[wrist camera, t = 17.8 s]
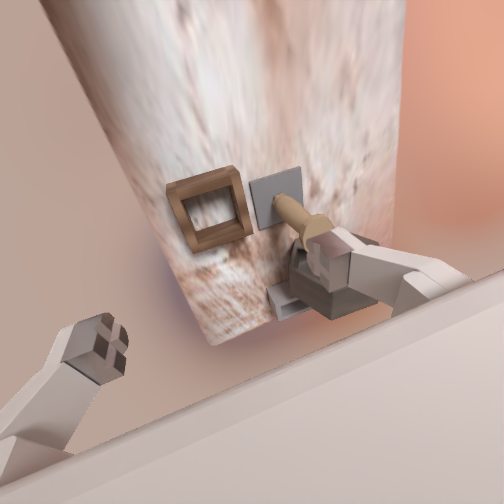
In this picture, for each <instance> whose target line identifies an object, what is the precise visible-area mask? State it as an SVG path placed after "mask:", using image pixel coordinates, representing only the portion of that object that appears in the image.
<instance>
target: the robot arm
mask: <svg viewBox="0 0 504 504" xmlns="http://www.w3.org/2000/svg"><path fill="white" fill-rule="evenodd" d="M306 248H307V249H308V250H309V251H308V253H307V262H308V265H309V268H310V269H311V271H312V272H313V274H314V275H316V276H319V277H320V282H321V283H322V285H323V286H324V287H325V288H326V289H327V291H328V292H329V293H330V292H332V291H335V290H338V289H341V288H343V287H346V286H348V287H350V288H352V289H354V290H356V291H359V292H361V293H363V294H365V295H367V296H369V297H372V298H374V299H376V300H378V301H380V302H383V303H385V304H387V305H389V306H391V307H394V309H393V312H392V316H391V318H390V319H387V320H385V321H383V322H381V323H378V324H376V325H373V326H371V327H369V328H367V329H365V330H362V331H360V332H358V333H355V334H353V335H350V336H348V337H346V338H344V339H341V340H339V341H337V342H334V343H332V344H330V345H328V346H325V347H323V348H320V349H318V350H316V351H314V352H311V353H309V354H307V355H304V356H302V357H300V358H297V359H295V360H293V361H290V362H288V363H286V364H284V365H281V366H279V367H277V368H274V369H272V370H270V371H267V372H265V373H263V374H260V375H258V376H256V377H254V378H252V379H249V380H247V381H244V382H242V383H240V384H238V385H235V386H233V387H231V388H228V389H226V390H224V391H221V392H219V393H217V394H215V395H212V396H210V397H208V398H205V399H203V400H201V401H198V402H196V403H194V404H192V405H189V406H187V407H185V408H182V409H180V410H178V411H176V412H173V413H171V414H169V415H166V416H164V417H162V418H160V419H157V420H155V421H152V422H150V423H148V424H145V425H143V426H141V427H139V428H136V429H134V430H132V431H129V432H127V433H125V434H122V435H120V436H118V437H116V438H113V439H111V440H109V441H106V442H104V443H102V444H99V445H97V446H95V447H92V448H91V449H88V450H86V451H84V452H81V453H79V454H76V455H74V454H71V453H68V452H65V451H63V450H64V448H65V446H66V445H67V443H68V441H69V440H70V438H71V436H72V435H73V433H74V431H75V429H76V428H77V426H78V424H79V423H80V421H81V419H82V418H83V416H84V414H85V412H86V411H87V409H88V407H89V406H90V404H91V402H92V401H93V399H94V397H95V396H96V394H97V392H98V390H99V389H100V386H101V385H103V384H105V383H107V382H110V381H112V380H114V379H117V378H119V377H121V376H124V371H125V365H126V357H125V356H124V355H123V354H124V352H125V351H126V350H127V348H128V342H129V340H128V335H127V332H126V330H125V328H124V327H123V326H122V325H120V324H117V323H114V317H113V316H112V315H111V314H110V313H103V314H100V315H97V316H94V317H91V318H88V319H85V320H82V321H79V322H77V323H74V324H71V325H68V326H66V327H63V328H62V329H61V330H60V331H59V333H58V336H57V338H56V340H55V342H54V345H53V347H52V349H51V351H50V353H49V356H48V358H47V360H46V363H45V365H44V367H43V369H42V371H40V372H37V373H36V374H35V375H34V376H33V377H32V378H31V379H30V380H29V381H28V382H27V383H26V385H24V387H23V388H22V389H21V390H20V391H19V392H18V393H17V394H16V395H15V396H14V397H13V398H12V399H11V400H10V401H9V402H8V403H7V404H6V405H5V407H3V409H2V410H1V411H0V504H504V269H502V270H500V271H498V272H496V273H493V274H491V275H489V276H486V277H484V278H482V279H480V280H477V281H473V280H472V279H470V278H469V277H467V276H465V275H464V274H462V273H460V272H459V271H457V270H456V269H454V268H452V267H451V266H449V265H447V264H446V263H444V262H443V261H441V260H439V259H435V258H430V257H425V256H420V255H416V254H411V253H407V252H402V251H398V250H393V249H389V248H384V247H379V246H375V245H365V244H364V243H363V242H361V241H360V240H359V239H357V238H356V237H355V236H353V235H352V234H351V233H349V232H348V231H347V230H345V229H344V228H343V227H340V226H339V227H336V228H333V229H331V230H328V231H326V232H324V233H321V234H318V235H316V236H313V237H310V238H308V239H306Z"/></svg>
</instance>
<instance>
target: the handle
mask: <svg viewBox="0 0 504 504" xmlns="http://www.w3.org/2000/svg"><path fill="white" fill-rule="evenodd" d="M272 205H273V206H274V208H275V209H276V211H277V213H278V214H279V215H280V216H281V218H282V219H283V220H284V221H285V222H286V223H288V224H289V225H290V226H291V227H292V228H293V229H294V230H296V231H297V232H298V233H299V240H300V243H301V245H302V247H303V248H304V249H305V250H306V251H307V252H308V251H309V250H308V249H307V248H306V239H308V238H310V237H313V236H316V235H318V234H321V233H324V232H326V231H328V230H331V229H333V228H334V226H333V224H332V222H331V221H330V220H329V218H328V217H326V216H325V215H323V214H316V215H313V216H312V215H311V214H310V213H309V212H308V211H307V210H306V209H305V208H304V207H303V206H302V205H301V204H300V203H298V202H297V201H296V200H294V199H293V198H291V197H289V196H287V195H285V194H284V193H280V194H278V195H275V196H274V200H273V202H272Z"/></svg>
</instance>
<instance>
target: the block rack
mask: <svg viewBox="0 0 504 504" xmlns="http://www.w3.org/2000/svg"><path fill="white" fill-rule="evenodd" d="M266 289H267V293H268V297H269V301H270V305H271V307H272V309H273V311H274V313H275V316H276V318H277V320H278V322H280V321H283V320H285V319H288V318H290V317H292V316H295V315H298V314H300V313H303V312H305V311H308V310H310V309H313V308H311V307H310V306H308V305H307V304H305V303H304V302H302V301H301V300H299V299H298V298H296V297H295V296H293V295H292V294H291V293H290V280H287V281H284V282H282V283H279V284H276V285H274V286H271V287H268V288H266Z"/></svg>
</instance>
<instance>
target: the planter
mask: <svg viewBox="0 0 504 504" xmlns="http://www.w3.org/2000/svg"><path fill="white" fill-rule="evenodd" d="M349 233H350V232H349ZM351 234H352V235H353V236H355V237H356V238H357V239H359V240H360V241H361V242H363V243H364V244H365V245H375V246H379V244H378V242H376V241H373V240H370V239H367V238H364V237H362V236H359V235H356V234H353V233H351ZM307 253H308V252H307V251H306V250H305V249H304V248H303V247H302V245H301V243H300V240H299V238H298V239H295V243H294V247H293V251H292V255H291V259H290V263H289V280H290V293H291V294H292V295H293V296H295V297H296V298H298V299H299V300H301V301H302V302H304V303H305V304H307V305H308V306H310V307H311V308H313V309H315V310H316V311H317V312H319V313H320V314H322V315H323V316H325V317H327V318H328V319H329V320H334V319H337V318H339V317H342V316H345V315H347V314H350V313H353V312H355V311H358V310H361V309H364V308H366V307H369V306H371V305H374V304H377V303H378V300H376V299H374V298H372V297H369V296H367V295H365V294H363V293H361V292H359V291H356V290H354V289H352V288H350V287H348V286H346V287H343V288H341V289H338V290H335V291H332V292H330V293H329V292H328V291H327V289H326V288H325V287H324V286H323V285H322V283H321V282H320V277H319V276H316V275H314V274H313V272H312V271H311V269H310V268H309V265H308V262H307Z"/></svg>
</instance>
